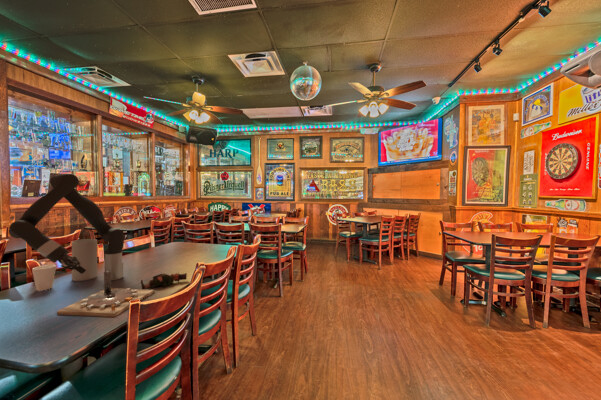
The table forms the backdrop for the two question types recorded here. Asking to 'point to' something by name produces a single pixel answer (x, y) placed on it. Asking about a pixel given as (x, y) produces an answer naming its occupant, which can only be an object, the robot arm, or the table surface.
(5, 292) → the table surface
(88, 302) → the sprocket
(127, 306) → the base board
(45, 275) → the foam cup
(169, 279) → the leprechaun
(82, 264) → the cylinder vase
